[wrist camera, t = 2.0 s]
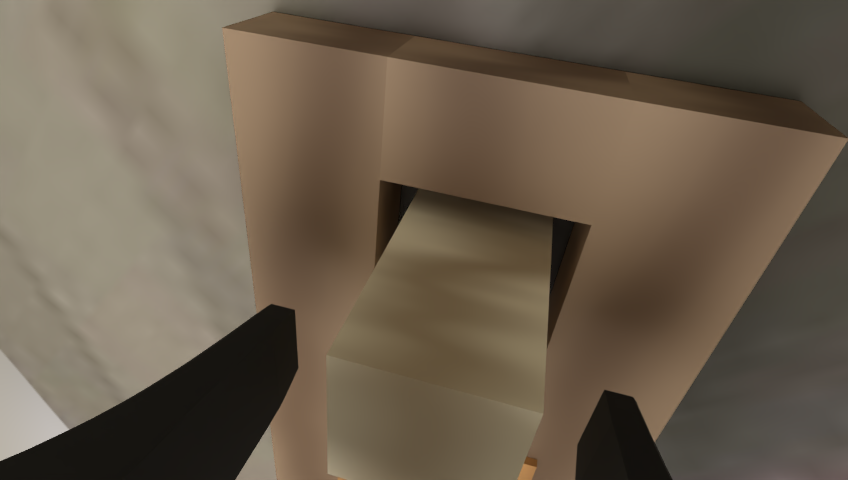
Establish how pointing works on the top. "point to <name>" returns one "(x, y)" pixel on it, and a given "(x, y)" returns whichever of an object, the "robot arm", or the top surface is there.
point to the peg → (444, 348)
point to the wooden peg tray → (512, 202)
